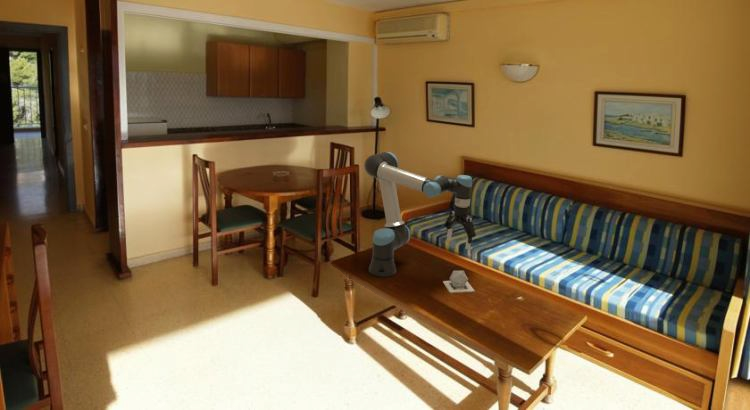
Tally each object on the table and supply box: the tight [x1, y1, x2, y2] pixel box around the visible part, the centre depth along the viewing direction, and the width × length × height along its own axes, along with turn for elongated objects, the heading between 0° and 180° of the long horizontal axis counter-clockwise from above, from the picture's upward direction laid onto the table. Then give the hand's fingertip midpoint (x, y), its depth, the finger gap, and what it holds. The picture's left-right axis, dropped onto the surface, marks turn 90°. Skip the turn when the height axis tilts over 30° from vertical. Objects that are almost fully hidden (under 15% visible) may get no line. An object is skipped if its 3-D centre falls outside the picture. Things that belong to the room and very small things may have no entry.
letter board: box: [442, 280, 476, 294], centre depth 254 cm, size 13×13×1 cm
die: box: [449, 270, 469, 287], centre depth 253 cm, size 8×9×10 cm
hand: (458, 244), depth 256 cm, fingers open, 13 cm apart
